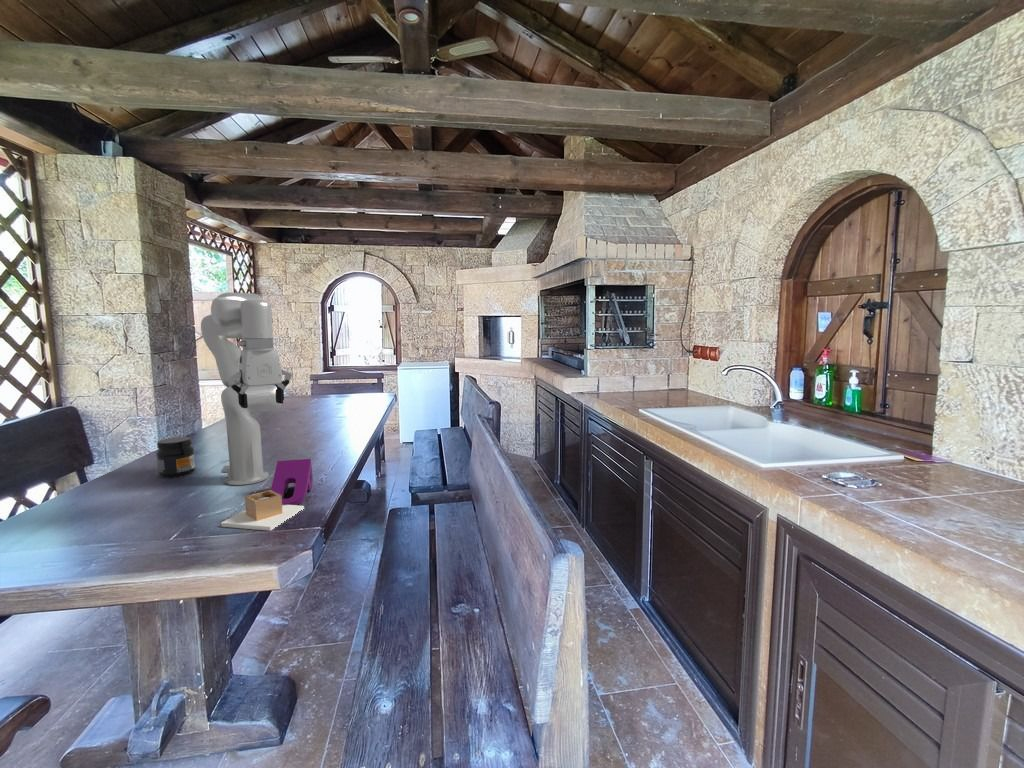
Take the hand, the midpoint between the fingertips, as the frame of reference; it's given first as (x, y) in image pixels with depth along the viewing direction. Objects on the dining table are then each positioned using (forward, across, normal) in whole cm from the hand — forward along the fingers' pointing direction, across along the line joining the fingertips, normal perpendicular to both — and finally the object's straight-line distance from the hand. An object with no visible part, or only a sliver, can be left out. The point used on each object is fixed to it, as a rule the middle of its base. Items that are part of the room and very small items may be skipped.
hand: (262, 405), depth 135 cm
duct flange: (+28, -6, -12) cm, 31 cm away
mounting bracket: (+29, +6, -2) cm, 29 cm away
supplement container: (+29, -9, +50) cm, 58 cm away
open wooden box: (+27, -6, -12) cm, 30 cm away
